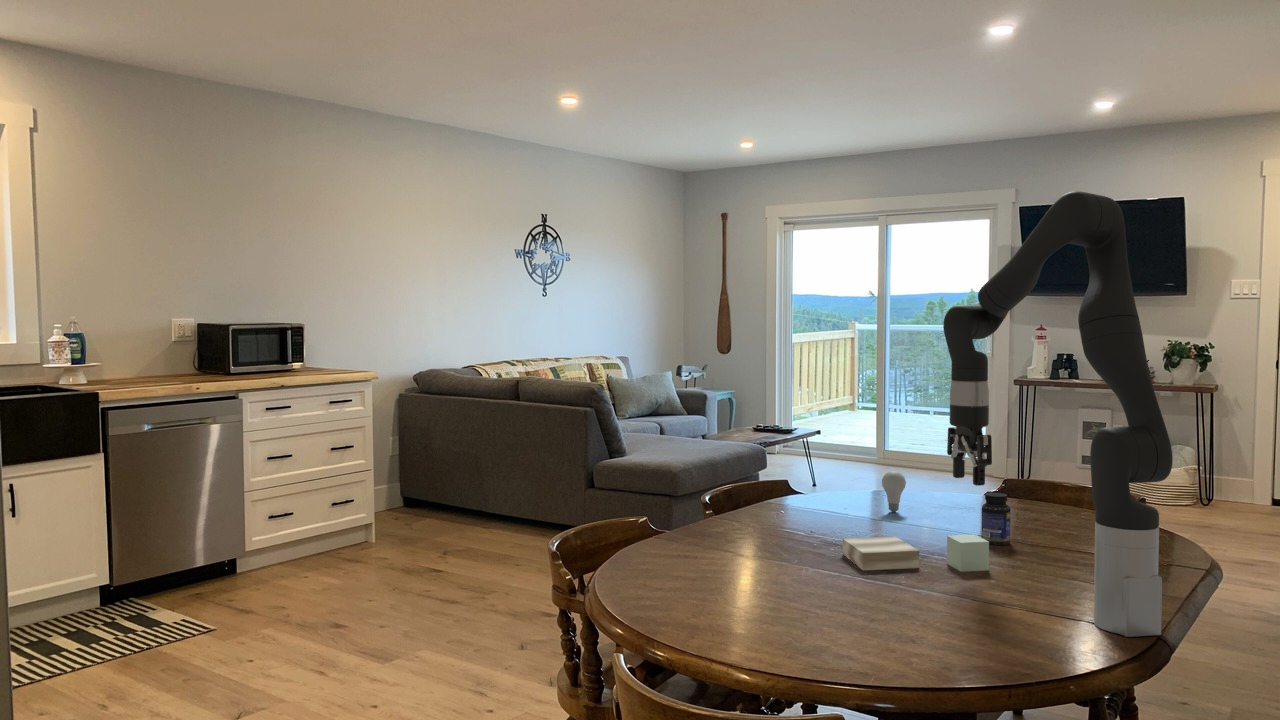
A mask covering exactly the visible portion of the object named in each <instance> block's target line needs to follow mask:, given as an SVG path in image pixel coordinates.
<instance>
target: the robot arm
mask: <svg viewBox="0 0 1280 720" xmlns="http://www.w3.org/2000/svg"><path fill="white" fill-rule="evenodd" d="M1068 244H1069V245H1074V246H1078V247H1079V246H1080V247H1082V248H1083V249H1084V252H1085V256H1086V259H1087V265H1088V269H1089V280H1088V285H1087V289H1086V291H1085V293H1084V296H1083V299H1082V301H1081V304H1080V308H1079V312H1078V317H1077V318H1078V329H1079V335H1080V339H1081V340H1080V341H1081V344H1082V349H1083V354H1084V357H1085V358H1086V360H1087V362H1088V363H1089V365H1090V366H1091V367H1092V369H1093V370H1094V371H1095V373H1096V374H1097V375H1098V376H1099V377H1100V378H1101V379H1102V381H1104V382H1105V384H1106V385H1107V386H1108V387H1109V388H1110V389H1111V391H1112V392H1113V393H1114V395H1115V396H1116V398H1117V399H1118V400H1119V403H1120V404H1121V406H1122V409H1123V412H1124V415H1125V418H1126V422H1127V425H1128V426H1106V427H1102V428H1099V429H1098V430H1097V431H1096V432H1095V433H1094V436H1093V437H1092V440H1091V444H1090V453H1089V455H1090V456H1089V457H1090V460H1089V461H1090V478H1091V479H1090V480H1091V481H1090V482H1091V500H1092V505H1093V509H1094V514H1095V515H1094V516H1095V519H1094V521H1095V522H1094V572H1093V573H1094V583H1093V586H1094V587H1093V589H1094V590H1093V591H1094V592H1093V593H1094V594H1093V602H1094V604H1093V623H1094V625H1095V626H1096V627H1097V628H1099V629H1101V630H1104V631H1107V632H1110V633H1113V634H1114V633H1115V634H1119V635H1122V636H1123V637H1127V638H1129V637H1130V638H1133V637H1148V636H1161V635H1162V610H1163V609H1162V608H1163V607H1162V605H1163V604H1162V603H1163V602H1162V601H1163V600H1162V599H1163V597H1162V596H1163V579H1162V577H1161V575H1159V547H1160V546H1159V545H1160V544H1159V543H1160V539H1159V538H1160V512H1159V511H1158V509H1157V508H1156V507H1155V506H1152V505H1149V504H1147V503H1143V502H1141V501H1138V500H1136V499H1134V498H1133V497H1132V495H1131V489H1130V488H1131V487H1130V484H1145V483H1158V482H1162V481H1165V480H1166V479H1168V477H1169V476H1170V474H1171V472H1172V468H1173V459H1174V457H1173V450H1172V445H1171V440H1170V436H1169V434H1168V429H1167V427H1166V423H1165V421H1164V417H1163V415H1162V411H1161V408H1160V405H1159V403H1158V399H1157V396H1156V392H1155V389H1154V384H1153V381H1152V377H1151V372H1150V368H1149V364H1148V363H1149V362H1148V359H1147V353H1146V349H1145V343H1144V336H1143V331H1142V327H1141V322H1140V321H1141V320H1140V317H1139V312H1138V309H1137V305H1136V300H1135V295H1134V290H1133V288H1134V287H1133V284H1132V283H1133V282H1132V278H1131V274H1130V267H1129V260H1128V249H1127V235H1126V225H1125V218H1124V213H1123V210H1122V208H1121V206H1120V205H1119V204H1118V202H1117V201H1116V200H1114V199H1113V198H1111V197H1108V196H1105V195H1101V194H1100V195H1099V194H1097V193H1096V194H1095V193H1091V192H1085V191H1079V190H1075V191H1069V192H1065V194H1062V195H1060V197H1059V198H1058V199H1057V200H1056V201H1054V203H1053V204H1052V205H1051V206H1050V207H1049V208H1048V210H1047V211H1046V212H1045V214H1044V215H1043V217H1042V218H1041V219H1040V221H1039V222H1038V223H1037V225H1036V226H1035V227H1034V228H1033V230H1032V231H1031V232H1030V233H1029V235H1028V236H1027V237H1026V239H1025V240H1024V241H1023V243H1022V244H1021V246H1020V247H1019V248H1018V250H1017V251H1016V252H1015V253H1014V254H1013V256H1012V257H1011V258H1010V259H1009V260H1008V261H1007V262H1006V264H1005V265H1003V267H1002V268H1000V269H999V270H998V271H997V272H996V273H995V274H994V275H993V276H992V277H991V278H990V279H989V280H988V281H987V282H986V283H984V285H982V287H981V288H980V289H979V290H978V293H977V300H978V303H977V304H956V305H953V306H951V307H950V308H949V309H948V310H947V311H946V313H945V315H944V318H943V326H942V327H943V333H944V338H945V341H946V346H947V350H948V354H949V356H950V361H951V365H950V367H951V371H950V373H951V377H950V379H951V381H950V382H951V383H950V387H949V424H950V425H951V427H949V426H948V428H947V442H946V443H947V448H946V454H947V455H948V456H950V457H951V460H952V476H953V478H956V479H963V478H964V477H965V465H966V464H965V463H966V461H965V460H964V459H965V458H966V455H967V457H968V458H970V459H971V462H972V484H973V485H974V486H976V487H977V486H979V487H980V486H985V484H986V467H988V466H991V465H992V463H993V453H992V452H993V451H992V450H993V447H992V435H991V434H983V428H986V427H988V426H989V424H990V422H989V421H990V417H989V416H990V413H989V412H990V390H989V381H988V380H989V360H988V359H989V358H988V356H987V354H986V353H984V352H982V351H978V350H977V349H976V346H975V344H974V340H982V339H986V338H988V337H991V336H992V335H993V334H994V333H995V332H996V331H997V330H999V328H1000V326H1002V323H1003V322H1004V321H1005V319H1006V317H1007V315H1008V314H1009V312H1010V311H1011V310H1013V308H1015V307H1016V306H1017V305H1018V304H1019V303H1020V302H1021V301H1023V300H1024V299H1025V298H1026V297H1027V296H1028V295H1029V294H1030V293H1031V292H1032V291H1033V290H1034V288H1035V287H1036V285H1037V283H1038V280H1039V279H1040V275H1041V271H1042V268H1043V267H1044V264H1045V262H1047V260H1048V259H1049V258H1050V257H1051V256H1052V255H1053V254H1054V253H1056V252H1057V251H1059V250H1060V249H1061V248H1063V247H1064V246H1066V245H1068Z"/></svg>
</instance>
